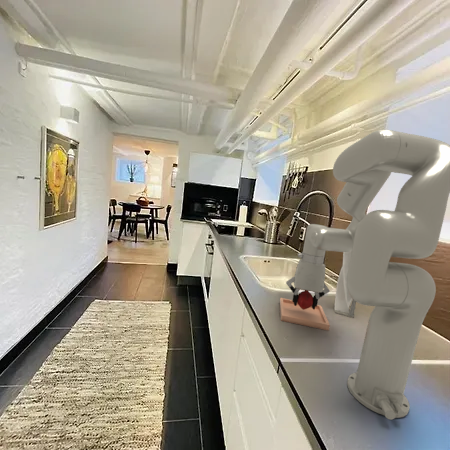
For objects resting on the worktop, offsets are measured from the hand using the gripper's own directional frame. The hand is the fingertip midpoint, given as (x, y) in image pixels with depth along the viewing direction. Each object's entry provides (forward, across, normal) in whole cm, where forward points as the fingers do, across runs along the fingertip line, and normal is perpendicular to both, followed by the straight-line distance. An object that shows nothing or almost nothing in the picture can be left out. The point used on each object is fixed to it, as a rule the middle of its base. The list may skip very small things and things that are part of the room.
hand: (304, 305), depth 99 cm
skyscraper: (+4, +17, +12) cm, 21 cm away
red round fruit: (+2, 0, 0) cm, 2 cm away
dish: (+4, 0, 0) cm, 4 cm away
